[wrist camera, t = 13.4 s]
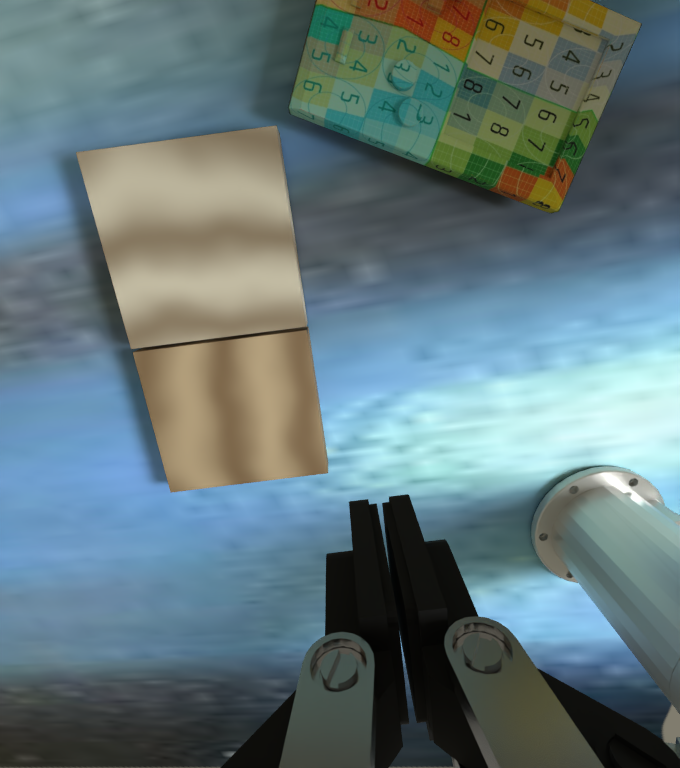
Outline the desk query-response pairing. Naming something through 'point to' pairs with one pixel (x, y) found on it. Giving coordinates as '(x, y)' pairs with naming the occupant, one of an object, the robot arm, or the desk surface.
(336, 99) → the puzzle game
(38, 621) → the desk surface
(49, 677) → the desk surface
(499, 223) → the desk surface
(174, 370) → the oak floorboard
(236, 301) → the birch plank
